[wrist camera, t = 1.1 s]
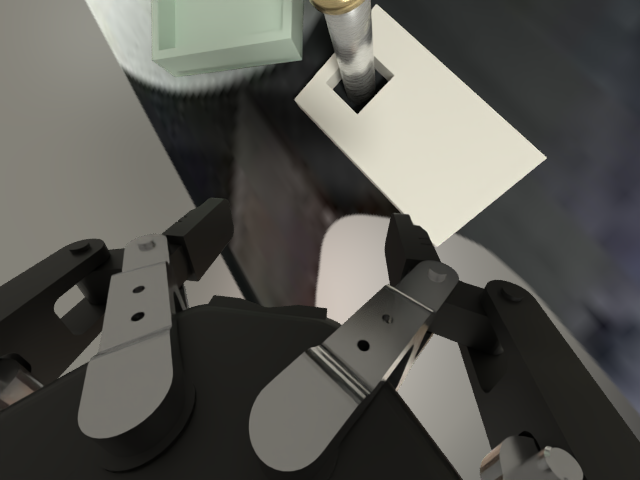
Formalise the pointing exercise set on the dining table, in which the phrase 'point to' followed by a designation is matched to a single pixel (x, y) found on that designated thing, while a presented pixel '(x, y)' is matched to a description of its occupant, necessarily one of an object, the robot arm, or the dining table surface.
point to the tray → (225, 34)
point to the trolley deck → (421, 134)
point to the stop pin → (352, 44)
